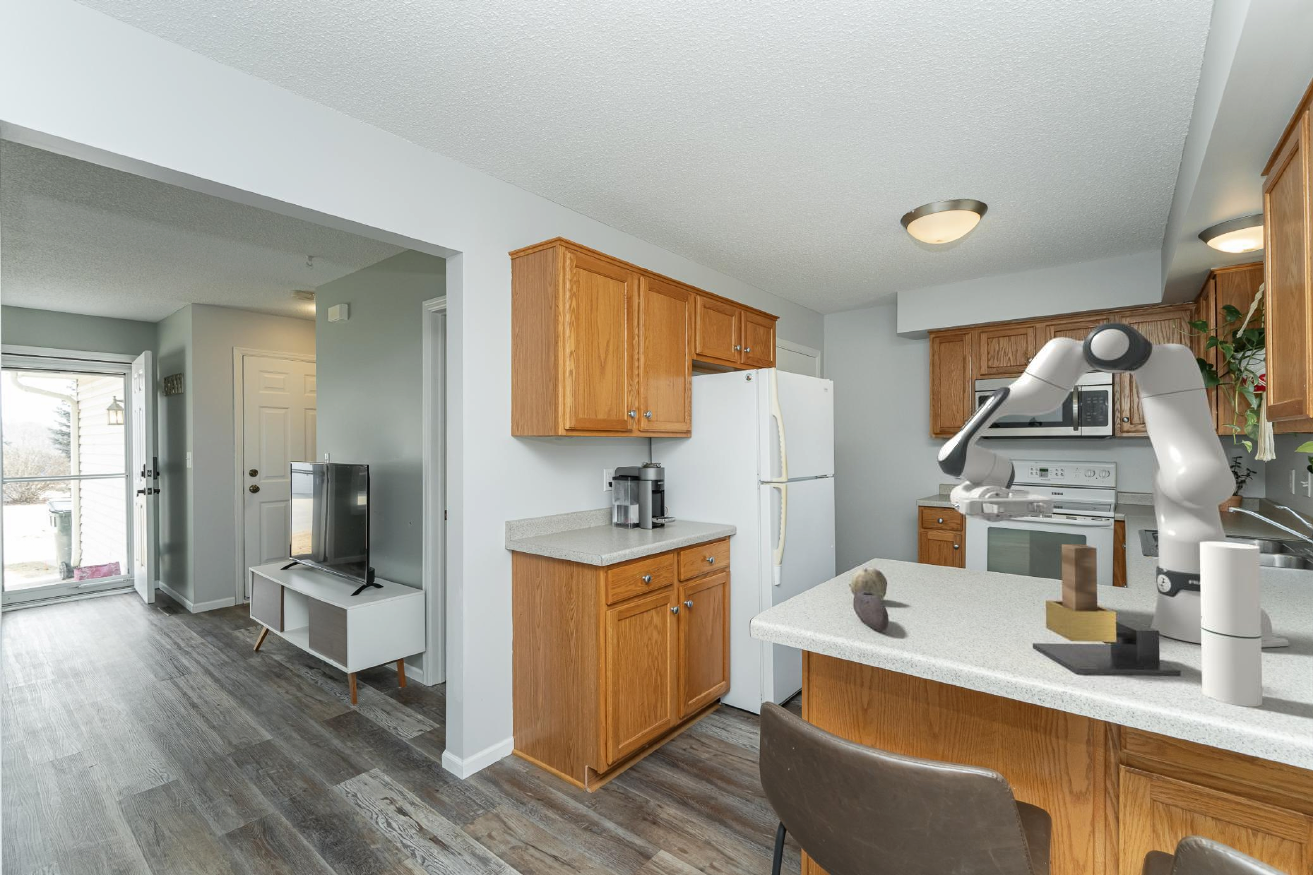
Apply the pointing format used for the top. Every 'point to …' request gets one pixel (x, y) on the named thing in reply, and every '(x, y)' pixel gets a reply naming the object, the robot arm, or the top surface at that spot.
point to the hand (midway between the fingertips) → (1022, 509)
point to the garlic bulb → (869, 582)
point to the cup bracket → (1121, 654)
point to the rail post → (1079, 577)
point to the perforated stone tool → (870, 610)
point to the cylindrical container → (1231, 622)
